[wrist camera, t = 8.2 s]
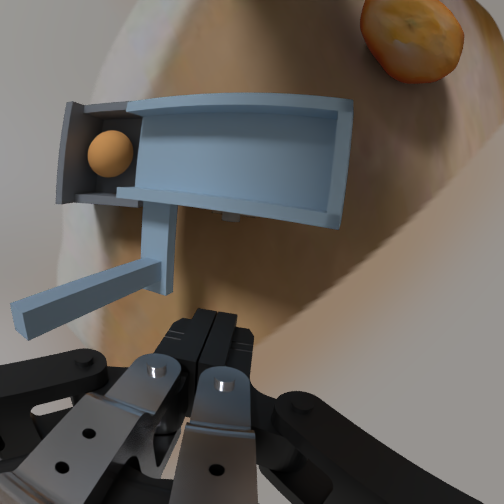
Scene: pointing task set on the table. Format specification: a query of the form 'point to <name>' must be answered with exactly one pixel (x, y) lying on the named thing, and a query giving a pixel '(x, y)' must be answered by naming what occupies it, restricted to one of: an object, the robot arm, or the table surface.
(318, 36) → the table surface
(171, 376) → the robot arm
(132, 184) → the tray
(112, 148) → the ball
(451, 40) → the fruit
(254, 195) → the lever
